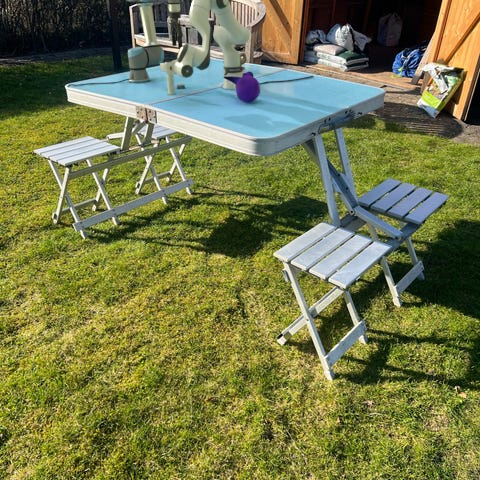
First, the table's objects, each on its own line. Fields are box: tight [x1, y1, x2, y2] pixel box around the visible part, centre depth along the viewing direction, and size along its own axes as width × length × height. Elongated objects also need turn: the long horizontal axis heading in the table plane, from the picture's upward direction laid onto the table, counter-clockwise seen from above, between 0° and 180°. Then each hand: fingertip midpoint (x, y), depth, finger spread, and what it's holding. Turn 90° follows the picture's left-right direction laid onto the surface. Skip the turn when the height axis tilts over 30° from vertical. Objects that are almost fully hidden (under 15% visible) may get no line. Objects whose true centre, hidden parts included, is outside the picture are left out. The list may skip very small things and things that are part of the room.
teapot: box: [222, 52, 247, 67], centre depth 367 cm, size 21×12×15 cm, turn 120°
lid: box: [176, 83, 186, 90], centre depth 315 cm, size 5×5×2 cm
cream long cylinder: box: [165, 73, 176, 96], centre depth 296 cm, size 4×4×16 cm
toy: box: [223, 71, 261, 103], centre depth 276 cm, size 16×18×27 cm
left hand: (177, 47), depth 302 cm, fingers open, 13 cm apart
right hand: (173, 63), depth 279 cm, fingers open, 8 cm apart
